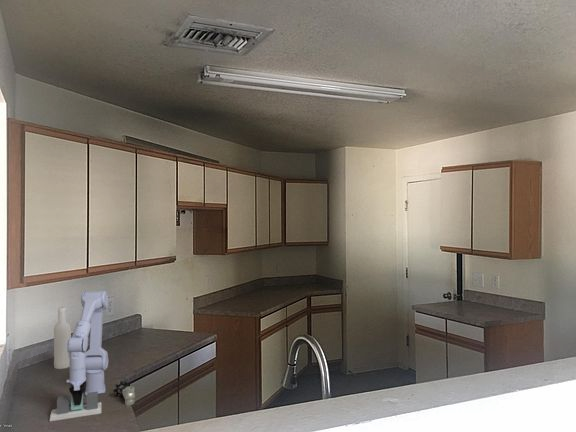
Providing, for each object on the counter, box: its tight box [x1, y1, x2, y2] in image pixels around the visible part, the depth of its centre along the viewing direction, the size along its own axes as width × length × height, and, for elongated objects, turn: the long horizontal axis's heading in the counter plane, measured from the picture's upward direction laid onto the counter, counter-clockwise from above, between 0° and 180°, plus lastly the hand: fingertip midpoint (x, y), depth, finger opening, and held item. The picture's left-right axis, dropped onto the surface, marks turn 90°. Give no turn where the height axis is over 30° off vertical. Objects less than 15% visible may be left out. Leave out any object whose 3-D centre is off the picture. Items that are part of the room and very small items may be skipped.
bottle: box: [53, 306, 72, 370], centre depth 232 cm, size 8×8×30 cm
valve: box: [112, 380, 136, 406], centre depth 190 cm, size 7×7×12 cm
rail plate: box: [49, 392, 102, 422], centre depth 179 cm, size 9×18×6 cm, turn 112°
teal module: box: [70, 393, 84, 410], centre depth 179 cm, size 4×4×6 cm
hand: (78, 402), depth 179 cm, fingers closed on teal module, 4 cm apart
